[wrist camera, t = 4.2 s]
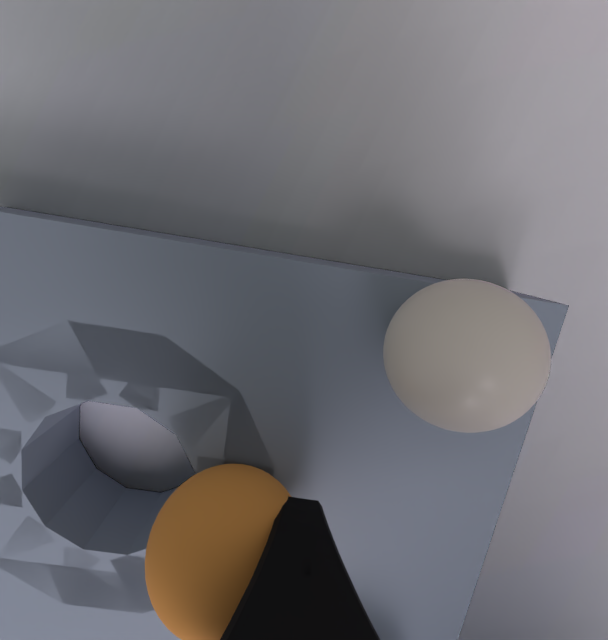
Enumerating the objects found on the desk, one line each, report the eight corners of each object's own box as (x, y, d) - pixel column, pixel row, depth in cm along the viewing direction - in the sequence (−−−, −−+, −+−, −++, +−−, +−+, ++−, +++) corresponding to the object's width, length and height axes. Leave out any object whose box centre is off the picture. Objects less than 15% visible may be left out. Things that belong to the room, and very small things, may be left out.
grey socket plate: (509, 290, 11) (568, 305, 8) (412, 623, 14) (435, 705, 11) (4, 206, 10) (-87, 197, 8) (12, 573, 13) (-53, 649, 11)
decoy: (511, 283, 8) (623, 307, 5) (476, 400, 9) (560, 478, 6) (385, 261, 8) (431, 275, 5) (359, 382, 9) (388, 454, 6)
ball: (260, 595, 5) (121, 475, 7) (213, 747, 6) (98, 609, 8) (347, 487, 8) (237, 419, 10) (308, 599, 9) (212, 520, 11)
